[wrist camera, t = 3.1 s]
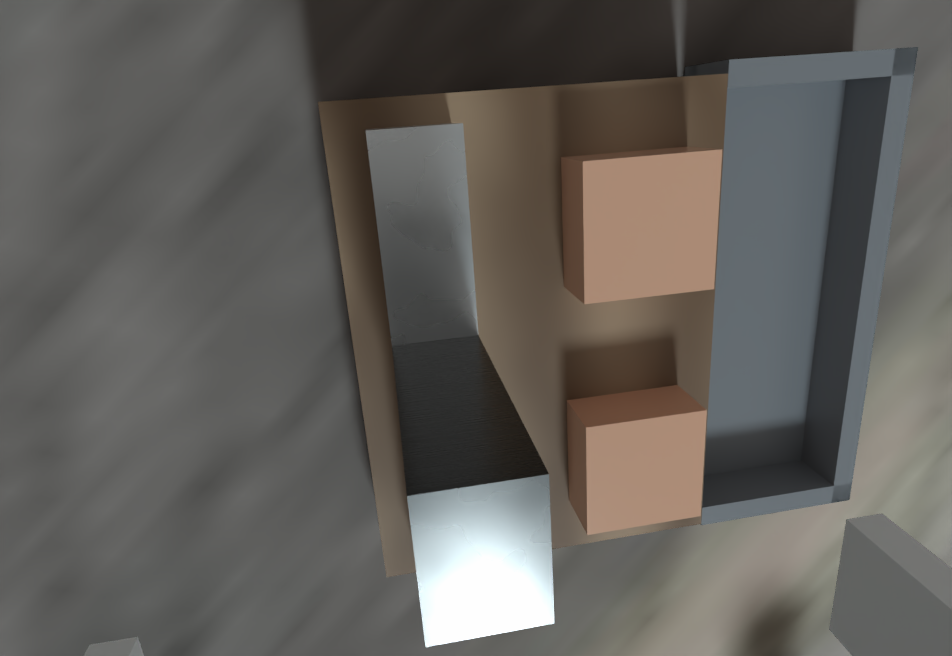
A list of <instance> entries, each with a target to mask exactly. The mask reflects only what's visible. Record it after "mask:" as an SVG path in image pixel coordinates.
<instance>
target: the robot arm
mask: <svg viewBox="0 0 952 656" xmlns="http://www.w3.org/2000/svg"><path fill="white" fill-rule="evenodd" d="M829 630H830V631H831V632H832V633H833V634H834V635H835V637H836V638H837V639H838V640H839V641H840V642H841V643H842V645H843V646H844V647H845V648H846V649H847V650H848V651H849V652H850V654H851V655H852V656H952V568H951V567H950V566H948V565H947V564H946V563H944V562H943V561H942V560H941V559H939V558H938V557H937V556H936V555H934V554H933V553H932V552H931V551H929V550H928V549H927V548H925V547H924V546H923V545H922V544H920V543H919V542H918V541H917V540H915V539H914V538H913V537H911V536H910V535H909V534H908V533H906V532H905V531H904V530H903V529H901V528H900V527H899V526H897V525H896V524H895V523H894V522H892V521H891V520H890V519H889V518H887V517H886V516H885V515H883V514H876V515H870V516H864V517H858V518H852V519H846V526H845V532H844V538H843V545H842V551H841V557H840V564H839V570H838V576H837V583H836V589H835V596H834V602H833V608H832V615H831V621H830V627H829ZM84 656H144V655H143V652H142V648H141V645H140V642H139V639H138V637H134V638H128V639H122V640H116V641H109V642H103V643H97V644H91V645H89V647H88V649H87V651H86V653H85V654H84Z"/></svg>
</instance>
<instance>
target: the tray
mask: <svg viewBox="0 0 952 656" xmlns="http://www.w3.org/2000/svg"><path fill="white" fill-rule="evenodd" d="M917 51H918V47H913V48H897V49H882V50H867V51H852V52H837V53H822V54H807V55H792V56H776V57H761V58H746V59H731V60H724V61H718V62H712V63H706V64H700V65H694V66H688V67H685V76H699V75H713V74H728V85H727V102H726V118H725V135H724V152H723V168H722V185H721V202H720V218H719V235H718V252H717V268H716V285H715V302H714V318H713V335H712V351H711V368H710V385H709V401H708V418H707V435H706V451H705V468H704V485H703V501H702V518H701V525H705V524H711V523H717V522H722V521H728V520H734V519H740V518H746V517H752V516H758V515H763V514H769V513H775V512H781V511H787V510H793V509H799V508H804V507H810V506H816V505H822V504H828V503H834V502H840V501H846V500H849V499H850V492H851V485H852V479H853V472H854V466H855V459H856V452H857V446H858V439H859V433H860V426H861V420H862V413H863V406H864V400H865V393H866V387H867V380H868V373H869V367H870V360H871V354H872V347H873V341H874V334H875V327H876V321H877V314H878V308H879V301H880V295H881V288H882V281H883V275H884V268H885V262H886V255H887V248H888V242H889V235H890V229H891V222H892V216H893V209H894V202H895V196H896V189H897V183H898V176H899V169H900V163H901V156H902V150H903V143H904V137H905V130H906V123H907V117H908V110H909V104H910V97H911V90H912V84H913V77H914V71H915V64H916V58H917Z"/></svg>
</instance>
